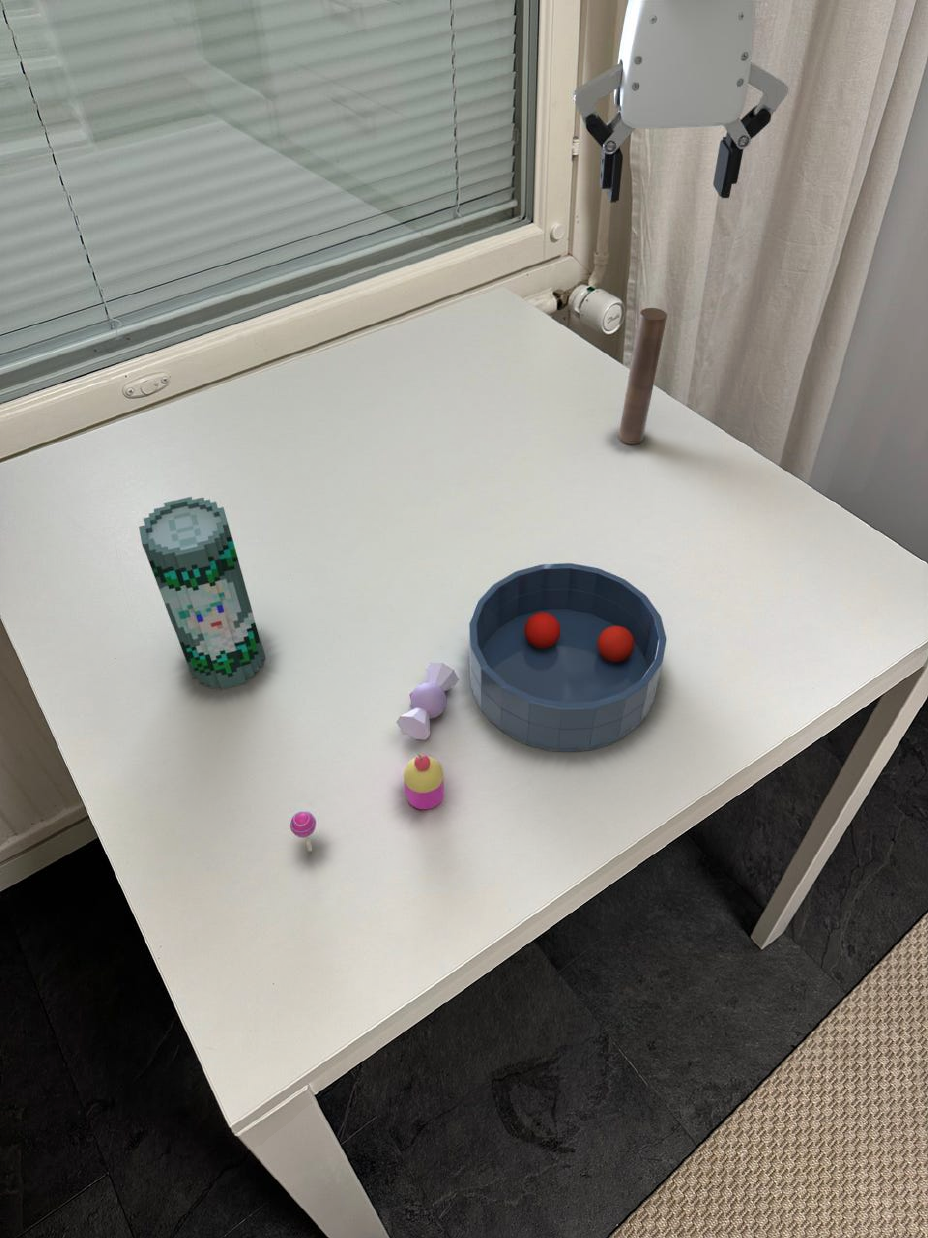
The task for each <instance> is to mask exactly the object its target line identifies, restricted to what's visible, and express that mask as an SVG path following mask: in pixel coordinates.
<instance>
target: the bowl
mask: <svg viewBox="0 0 928 1238" xmlns="http://www.w3.org/2000/svg"><path fill="white" fill-rule="evenodd" d="M542 612H543V613H548V614H551V615H552V616H554V617H555V618H556V619H557V621H558V623H559V625H560V636H559V638H558V640H557V642H556V643H555V644H554V645H552V646H550V647H548V648H537V647H534V646H533V645H531V644H530V643H529V642H528V641H527V639H526V637H525V633H524V628H525V624H526V622H527V620H528V619H529V618H530V617H531V616H532V615H534V614H536V613H542ZM468 623H469V624H468V638H469V639H468V642H469V648H468V649H469V650H468V651H469V679H470V688H471V690H472V693H473V697H474V699H475V701H476V703H477V705H478V708H479V709H480V710H481V711H482V713H483V714H484V715H485V716H486V718H487V719H488V720H489V721H490V722H491V724H493V725H494V726H495V727H496V728H498V729H499V730H500V731H501V732H503V733H504V734H506V735H507V736H509V737H511V738H512V739H514V740H516V741H519V742H521V743H523V744H525V745H528V746H531V747H534V748H538V749H542V750H546V751H551V752H553V751H554V752H561V753H562V752H563V753H565V752H568V753H569V752H570V753H575V752H585V751H591V750H595V749H599V748H603V747H605V746H608V745H611V744H613V743H616V742H617V741H619V740H621V739H622V738H625V736H628V734H631V733H632V732H633V730H635V729H636V728H637V727H638V726H639V725H640V724H641V723H642V721H643V720H644V719H645V718H646V716H647V714H648V713H649V711H650V709H651V706H652V705H653V703H654V701H655V698H656V694H657V693H656V692H657V688H658V684H659V680H660V675H661V671H662V668H663V662H664V657H665V652H666V646H667V642H668V641H667V639H668V638H667V635H666V631H665V626H664V623H663V619H662V616H661V614H660V613H659V612H658V610H657V608H656V607H655V606H654V605H653V603H652V602H651V601H650V599H649V597H648V596H647V594H645V593H643V591H641V590H639V588H637V587H635V586H634V585H633V583H631V582H629V581H628V580H626V579H625V578H623V577H620V576H618V575H616V574H613V573H611V572H609V571H607V570H604V569H602V568H599V567H595V566H589V565H583V564H578V563H571V562H564V563H562V562H561V563H542V564H537V565H534V566H530V567H526V568H524V569H520V570H516V571H514V572H512V573H510V574H509V575H507V576H505V577H503V578H501V579H500V580H498V581H496V582H494V583H493V584H492V585H491V586H490V587H489V588H488V589H487V591H486V592H485V593H483V595H482V596H481V597H480V598H479V599H478V600H477V602H476V604H475V607H474V610H473V612H472V614H471V617H470V619H469V622H468ZM611 626H621V627H624V628H626V629H627V630H628V631H629V632H630V633H631V634H632V636H633V638H634V643H635V644H634V650H633V652H632V654H631V655H630V656H629V657H628V658H627V659H626V660H624V661H621V662H611V661H608V660H606V659H605V658H604V657H603V656H602V655H601V654H600V652H599V650H598V638H599V636H600V634H601V633H602V631H603V630H605V629H606V628H608V627H611Z"/></svg>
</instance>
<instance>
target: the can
mask: <svg viewBox="0 0 928 1238" xmlns="http://www.w3.org/2000/svg"><path fill="white" fill-rule="evenodd" d="M143 524H144V525H140V526H138V528H139V529H138V530H139V534H140V540H141V546H142V548H143V550H144V553H145V556H146V559H147V560H148V564H149V566H150V568H151V571H152V575H153V576H154V579H155V582H156V585H157V587H158V589H159V592H160V595H161V598H162V601H163V603H164V606H165V608H166V611H167V614H168V616H169V619H170V622H171V624H172V627H173V630H174V633H175V636H176V638H177V640H178V642H179V646H180V648H181V651H182V652H183V656H184V659H185V662H186V664H187V667H188V670H189V672H190V675H191V678H192V679H197V681H198V684H199V685H202V684H203V685H204V687H207V686H209V687H210V689H215V688H218V687H220V689H221V690H225V689H228V688H232V687H236V686H239V685H242V684H247V681H246V680H247V679H250V678H255V673H258V672H259V668H262V667H263V663H262V660H265V659H266V655H265V652H264V648H263V645H262V641H261V637H260V634H259V629H258V626H257V622H256V620H255V616H254V613H253V608H252V605H251V601H250V598H249V593H248V591H247V587H246V584H245V579H244V575H243V572H242V569H241V565H240V561H239V557H238V554H237V550H236V547H235V543H234V540H233V536H232V533H231V529H230V525H229V521H228V517H227V515H226V510H225V508H224V506H222V507H218V503H217V501H211V500H210V499H207V500H205V498H204V497H199V498H195V499H193V497H192V496H189V497H185V498H180V499H176V500H171V501H168V502H164V503H163V506H161V507H156V508H153V512H150V513H148V517H143Z"/></svg>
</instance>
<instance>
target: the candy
mask: <svg viewBox="0 0 928 1238" xmlns="http://www.w3.org/2000/svg"><path fill="white" fill-rule="evenodd" d="M459 680H460V679H459V677H458V675H457V673H456V671H455V669H453V668H451V666H448V665H446V664H445V663H443V662H430V663H429V665H428V666H427V668H426V682H422V683H420V684H418V685H417V686H416V687H414V689H413V690H412V691H411V692H410V693H409V703H410V707H411V709H410V710H408V711H407V712H405V713H403V714H402V715H400V716H399V718H398V719H397V721H396V725H397V726H398V727H399V729H400V731H401V732H402V733H404V734H405V735H407V736H409V737H411V738H412V739H414V740H425V741H426V740H427V739H428V737H429V736H430V735H431V725H430V722H431V721H430V719H434V718H437V717H439V716H440V715H441V714H442V713H443V712H444V711H445V708H446V705H447V696H446V693H445V692H446V691H448V690H450V689H452V688H454V687H455V686H456V684H457V683H458V681H459ZM416 755H417V756H416V757H414V758H412V759H411V760H410V761H409V762H408V763H407V764H406V765H405V768H404V770H403V783H404V793H405V798H406V800H407V802H408V803H409V804H410V805H411V806H412V807H414V808H415V809H420V810H430V809H432V808H434V807H437V806H438V805H439V804H441V802H442V800H443V798H444V796H445V785H444V771H443V768H442V766H441V764H440V763H439V761H437V760H436V759H435V758H434V757H431V756H428V755H426V754H421V753H420V752H417V753H416ZM316 826H317V820H316V817H315V816H314V815H313V813H311V812H309V811H306V810H301V811H298V812H295V814H294V815H292V817H291V818H290V822H289V829H290V832H291V833H293V834H294V836H295V837H297V838H304V839H305V843H306V847H307V850H308V852H310V853H311V852H313V847H312V842H311V839H310V837H311V835H312V834H314V832H315V831H316Z"/></svg>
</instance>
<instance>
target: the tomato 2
mask: <svg viewBox="0 0 928 1238" xmlns="http://www.w3.org/2000/svg"><path fill="white" fill-rule="evenodd" d="M634 644H635V643H634V638H633V636H632V634H631V633H630V632H629V631H628V630H627V629H626V628H624V627H621V626H611V627H608V628H606V629H605V630H603V631H602V633H601V634H600V636H599V638H598V650H599V652H600V654H601V655H602V656H603V657H604V658H605V659H606V660H608V661H611V662H621V661H624V660H626V659H627V658H628V657H629V656H630V655H631V654H632V652H633V650H634Z"/></svg>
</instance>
